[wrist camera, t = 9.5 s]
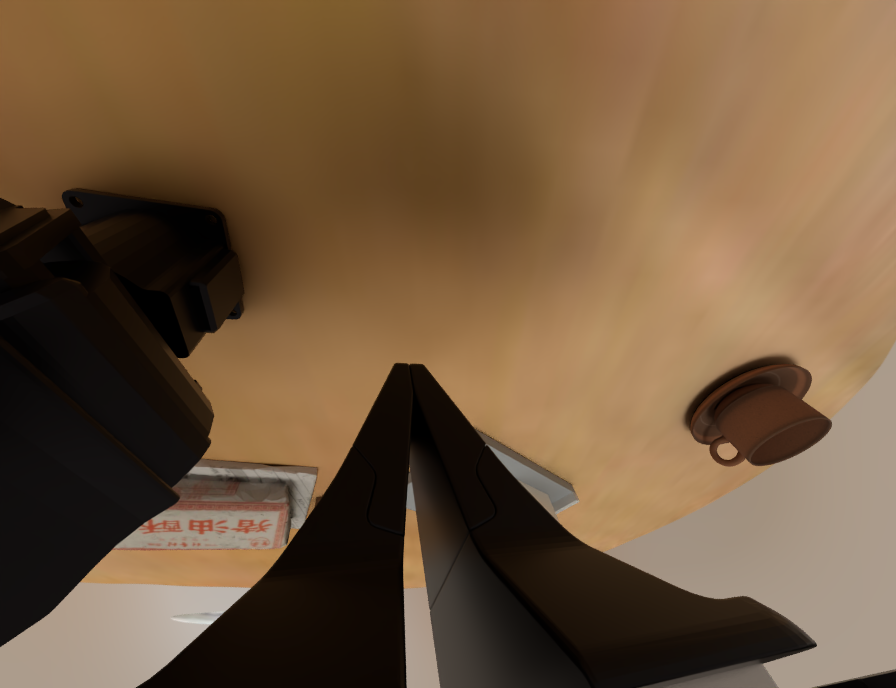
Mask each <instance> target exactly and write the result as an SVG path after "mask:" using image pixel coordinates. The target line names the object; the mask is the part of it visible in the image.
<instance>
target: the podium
mask: <svg viewBox="0 0 896 688" xmlns="http://www.w3.org/2000/svg"><path fill="white" fill-rule="evenodd" d="M475 430H476V429H475ZM476 431H477V432H478V434H479V435H480V436H481V437H482V439H483V440H484V441H485V442H486V445H488V446H489V447H490V448H491V450H492V451H493V452H494V454H495V455H496V456H497V457H498V458H499V460H500V461H501V462H502V463H503V464H504V465H505V467H506V468H507V469H508V470H509V471H510V472H511V473H512V474H513V476H514V477H515V478H516V479H518V480H520V481H522V482H523V483H525V484H527V485H529V486H531V487H533V488H535V489H537V490H539V491H541V492H543V493H545V494H547V495H548V496H549V499H550V501H551V504H552V506H553V508H554V511H555V513H556V514H557V513H559V512H561V511H563V510H565V509H567V508H569V507H571V506H572V505H574V504H576V503H578V502H580V501H579V499H578V497H577V495H576V493H575V491H574V489H573V487H572V485H571V484H570V483H568V482H566V481H564V480H563V479H561V478H559V477H557V476H556V475H554V474H552V473H550V472H549V471H547V470H545V469H544V468H542V467H540V466H538V465H537V464H535V463H533V462H531V461H530V460H528V459H526V458H524V457H523V456H521V455H519V454H518V453H516V452H514V451H512V450H511V449H509V448H507V447H505V446H504V445H502V444H500V443H498V442H497V441H495V440H493V439H492V438H490V437H488V436H486V435H485V434H483V433H481V432H479V431H478V430H476ZM486 445H485V446H486ZM406 508H408V509H411V510H414V511H416V508H415V501H414V494H413V487H412V479H411V472H409V475H408V490H407V505H406Z"/></svg>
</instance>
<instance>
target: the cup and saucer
mask: <svg viewBox="0 0 896 688" xmlns="http://www.w3.org/2000/svg"><path fill="white" fill-rule="evenodd" d="M811 381H812V377H811V374H810V372H809V371H808V370H806V369H804V368H802V367H799V366H796V365H791V364H783V365H770V366H765V367H761V368H757V369H754V370H751V371H749V372H746V373H744V374H742V375H739V376H737V377H735V378H733V379H732V380H730V381H728V382H727V383H725V384H723V385H722V386H720V387H719V388H718V389H716V390H715V391H714V392H712V393H711V394H710V395H709V396H708V397H707V398H706V399H705V400H704V401H703V402H702V403H701V404H700V406H699V407H698V408H697V410H696V411H695V413H694V415H693V417H692V421H691V426H690V431H691V434H692V436H693V437H694V439H695V440H696V441H697V442H699V443H701V444H706V445H710V454H711V456H712V458H713V459H714V460H715V461H716V462H717V463H719V464H721V465H723V466H736V465H738V464H740V463H741V462H743V461H744V460H745V458H746V459H747V460H748V461H749V462H750V463H751V464H752V465H755V466H765V465H771V464H775V463H778V462H781V461H784V460H786V459H789V458H791V457H793V456H795V455H798V454H799V453H801V452H803V451H805V450H807V449H808V448H810V447H811V446H813V445H814V444H816V443H817V442H818V441H820V440H821V439H822V438H823V437H824V436H825V435H826V434H827V433H828V432H829V430H830V429H831V427H832V422H831V420H830V419H828V418H827V417H825V416H824V415H823V414H821V413H820V412H818V411H817V410H815V409H814V408H813V407H811V406H810V405H808V404H807V403H805V402H804V401H803V400H802V398H803V397H804V396H805V394H806V393H807V391H808V390H809V388H810V385H811ZM729 442H730V443H731V444H732V445H733V446H734V447H735V448H736V449H737V450H738V453H737V455H736V457H734V458H733V459H731V460H724V459H722V458H721V457H720V456H719V455H718V453H717V447H718V446H719V445H720V444H724V443H729Z"/></svg>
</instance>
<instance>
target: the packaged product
mask: <svg viewBox="0 0 896 688" xmlns="http://www.w3.org/2000/svg"><path fill="white" fill-rule="evenodd" d="M316 476H317V468H314V467H303V466H268V465H264V464H254V463H242V462H230V461H217V460H206V459H200V461H199V462H198V463H197V464H196V465H195V466H194V467H193V468H192V469H191V470H190V471H189V473H188V474H187V475H186V476H185V477H184V478H183V479H182V480H181V481H180V482H179V483H178V484H177V485H176V486H174V487H173V488H172V489H173V490H174V491H175V492H177V493H178V494H179V495H180V499H179V501H178V502H177V503H176V504H175V505H173V506H171V507H170V508H168V509H167V510H165V511H163V512H162V513H160V514H158V515H157V516H155V517H154V518H152V519H150V520H149V521H147V522H145V523H144V524H143V525H141V526H140V527H139V528H138V529H136V530H135V531H134V532H133V533H131V534H130V535H129V536H128V537H126V538H125V539H124V540H123V541H121V542H120V543H119V544H118V545H116V546H115V547H114V548H113V549H112V550H115V549H117V550H222V549H227V550H234V549H244V550H246V549H276V548H282V547H283V546H285V545H287V543H288V538H289V532H290V529H291V528H296V529H300V528H301V526H302V525H303V523H304V522H305V519H306V516H307V511H308V507H309V504H310V501H311V498H312V494H313V490H314V487H315V483H316Z"/></svg>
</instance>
